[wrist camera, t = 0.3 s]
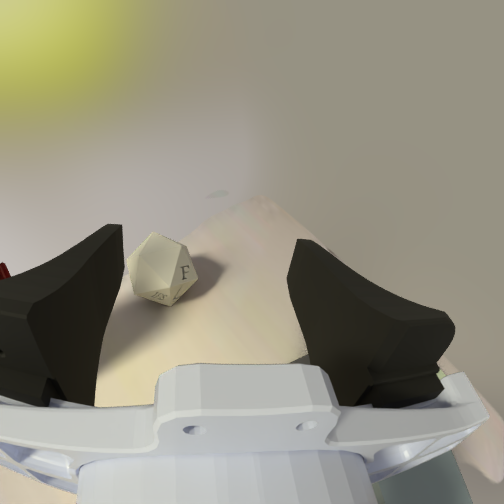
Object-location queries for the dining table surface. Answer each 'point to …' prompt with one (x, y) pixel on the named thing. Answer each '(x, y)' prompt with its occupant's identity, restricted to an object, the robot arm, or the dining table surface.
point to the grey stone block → (161, 269)
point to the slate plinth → (425, 484)
